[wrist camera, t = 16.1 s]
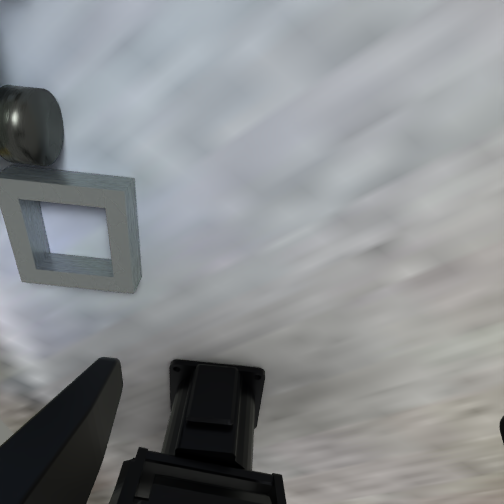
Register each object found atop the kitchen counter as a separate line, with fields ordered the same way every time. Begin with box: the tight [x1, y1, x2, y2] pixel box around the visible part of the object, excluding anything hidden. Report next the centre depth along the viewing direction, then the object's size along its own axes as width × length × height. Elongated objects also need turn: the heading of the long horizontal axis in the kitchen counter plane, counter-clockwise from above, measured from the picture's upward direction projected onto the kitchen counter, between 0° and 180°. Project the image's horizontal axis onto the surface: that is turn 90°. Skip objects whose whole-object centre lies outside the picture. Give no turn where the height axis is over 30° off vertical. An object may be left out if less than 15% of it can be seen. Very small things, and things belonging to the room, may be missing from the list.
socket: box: [0, 165, 142, 294], centre depth 21 cm, size 6×6×2 cm
